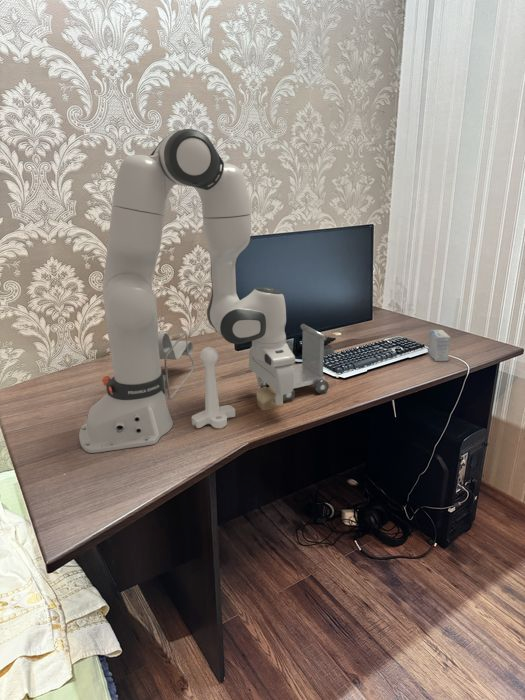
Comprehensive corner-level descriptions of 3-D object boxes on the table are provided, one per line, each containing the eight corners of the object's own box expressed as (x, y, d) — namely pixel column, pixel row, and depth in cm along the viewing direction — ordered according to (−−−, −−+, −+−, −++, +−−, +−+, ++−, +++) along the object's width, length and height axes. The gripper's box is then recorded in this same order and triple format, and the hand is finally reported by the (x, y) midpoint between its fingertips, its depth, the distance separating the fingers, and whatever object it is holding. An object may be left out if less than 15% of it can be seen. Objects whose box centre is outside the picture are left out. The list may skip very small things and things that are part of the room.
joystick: (227, 410, 124) (224, 340, 117) (242, 422, 118) (239, 349, 111) (189, 422, 119) (183, 349, 112) (202, 435, 113) (197, 358, 106)
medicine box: (448, 361, 154) (451, 336, 151) (434, 361, 154) (437, 337, 151) (440, 353, 162) (443, 329, 159) (427, 353, 162) (429, 329, 159)
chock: (263, 410, 124) (262, 395, 123) (257, 404, 128) (256, 389, 126) (283, 406, 127) (283, 391, 125) (276, 400, 130) (276, 385, 128)
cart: (282, 403, 128) (282, 344, 122) (259, 383, 140) (258, 329, 134) (328, 392, 134) (330, 336, 127) (302, 374, 146) (303, 322, 140)
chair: (123, 400, 132) (114, 334, 125) (156, 366, 155) (150, 309, 148) (168, 402, 129) (162, 336, 123) (195, 368, 152) (191, 310, 146)
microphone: (330, 346, 179) (297, 354, 165) (328, 331, 179) (295, 338, 164) (342, 345, 175) (309, 353, 161) (339, 330, 175) (306, 336, 161)
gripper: (242, 339, 129) (244, 384, 134) (275, 363, 111) (276, 414, 116) (263, 335, 131) (263, 380, 136) (298, 359, 114) (298, 409, 119)
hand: (269, 396), depth 126 cm, fingers open, 8 cm apart
